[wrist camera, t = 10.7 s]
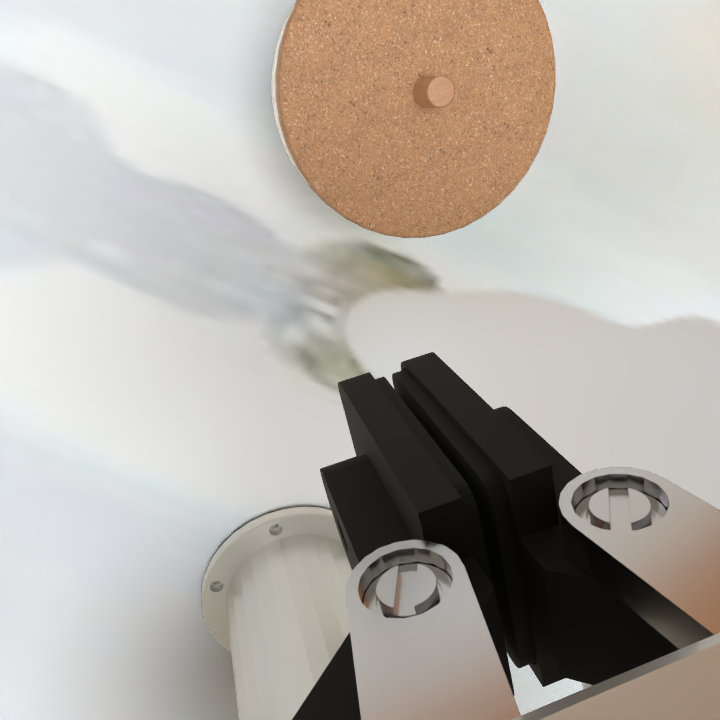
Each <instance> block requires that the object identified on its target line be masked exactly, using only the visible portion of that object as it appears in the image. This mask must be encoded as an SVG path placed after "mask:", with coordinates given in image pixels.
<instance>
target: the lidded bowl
mask: <svg viewBox="0 0 720 720" xmlns="http://www.w3.org/2000/svg"><path fill="white" fill-rule="evenodd" d="M271 81H272V104H273V110H274V116H275V121H276V124H277V128H278V131H279V134H280V137H281V140H282V143H283V145H284V147H285V149H286V151H287V153H288V155H289V157H290V159H291V161H292V163H293V164H294V166H295V167H296V169H297V170H298V172H299V173H300V174H301V176H302V177H303V179H304V180H305V181H306V182H307V183H308V185H309V186H310V187H311V188H312V189H313V191H314V192H315V193H316V194H317V195H318V196H319V197H320V198H321V199H322V200H323V201H324V202H325V203H326V204H327V205H329V206H330V207H331V208H333V209H334V210H335V211H336V212H338V213H339V214H340V215H342V216H343V217H344V218H346V219H348V220H350V221H352V222H354V223H356V224H358V225H359V226H361V227H363V228H365V229H368V230H371V231H375V232H378V233H381V234H384V235H389V236H396V237H403V238H421V237H430V236H435V235H441V234H445V233H448V232H451V231H454V230H457V229H460V228H462V227H465V226H467V225H468V224H470V223H472V222H474V221H476V220H478V219H480V218H481V217H483V216H484V215H486V214H487V213H488V212H490V211H491V210H492V209H494V208H495V207H496V206H498V205H499V204H500V203H501V202H502V201H503V200H504V199H505V198H506V197H507V196H508V195H509V194H510V193H511V192H512V191H513V190H514V189H515V187H516V186H517V185H518V183H519V182H520V181H521V179H522V178H523V177H524V175H525V174H526V173H527V171H528V170H529V168H530V166H531V164H532V162H533V161H534V159H535V157H536V155H537V154H538V152H539V149H540V147H541V144H542V142H543V139H544V137H545V134H546V132H547V128H548V124H549V120H550V116H551V113H552V108H553V100H554V92H555V57H554V50H553V43H552V37H551V34H550V30H549V27H548V23H547V20H546V16H545V14H544V11H543V9H542V7H541V5H540V3H539V0H297V1H296V3H295V4H294V6H293V7H292V9H291V11H290V13H289V15H288V17H287V19H286V21H285V23H284V26H283V28H282V30H281V33H280V36H279V40H278V43H277V47H276V50H275V54H274V62H273V69H272V77H271Z"/></svg>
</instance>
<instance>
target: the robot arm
mask: <svg viewBox="0 0 720 720" xmlns="http://www.w3.org/2000/svg"><path fill="white" fill-rule="evenodd" d="M392 379H393V385H394V388H393V387H392V386H391V385H390V383H389V382H388V381H387V379H386V378H385V377H381V378H378V379H374V377H373V376H372V375H371V374H370V373H366V374H363V375H360V376H357V377H354V378H351V379H347V380H344V381H341V382H339V383H338V387H339V392H340V396H341V400H342V404H343V407H344V411H345V415H346V418H347V422H348V426H349V430H350V433H351V437H352V441H353V445H354V448H355V452H356V457H353V458H351V459H348V460H345V461H342V462H339V463H336V464H333V465H330V466H327V467H324V468H321V469H320V472H321V476H322V480H323V483H324V487H325V490H326V494H327V497H328V500H329V504H330V507H331V510H329V509H324V508H320V507H295V508H287V509H282V510H279V511H275V512H272V513H268V514H265V515H263V516H261V517H259V518H257V519H255V520H253V521H251V522H249V523H247V524H246V525H244V526H243V527H242V528H240V529H239V530H237V531H236V532H234V533H233V534H232V535H231V536H230V537H229V538H228V539H227V540H226V541H225V542H224V543H223V544H222V545H221V546H220V548H219V549H218V550H217V552H216V553H215V555H214V556H213V557H212V559H211V561H210V563H209V566H208V568H207V570H206V572H205V575H204V580H203V585H202V608H203V615H204V619H205V622H206V624H207V627H208V629H209V631H210V633H211V634H212V635H213V637H214V638H215V639H216V641H217V642H218V643H219V644H220V645H221V646H223V647H224V648H225V649H226V650H227V651H228V652H230V653H231V655H232V664H233V673H234V683H235V692H236V701H237V710H238V719H239V720H720V510H719V509H717V508H715V507H714V506H712V505H710V504H709V503H707V502H705V501H703V500H702V499H700V498H698V497H696V496H695V495H693V494H691V493H689V492H688V491H686V490H684V489H682V488H681V487H679V486H677V485H675V484H674V483H672V482H670V481H668V480H667V479H665V478H663V477H661V476H658V475H656V474H654V473H651V472H649V471H645V470H640V469H635V468H630V467H609V468H602V469H595V470H592V471H589V472H587V473H584V474H581V473H580V472H579V471H578V470H577V469H576V468H575V467H574V466H573V465H571V464H570V463H569V462H568V461H567V460H566V459H565V458H564V457H563V456H562V455H560V454H559V453H558V452H557V451H556V450H555V449H554V448H553V447H551V445H549V444H548V443H547V442H546V441H545V440H544V439H543V438H542V437H541V436H540V435H538V434H537V433H536V432H535V431H534V430H533V429H532V428H531V427H530V426H528V425H527V424H526V423H525V422H524V421H523V420H522V419H521V418H520V417H519V416H517V415H516V414H515V413H514V412H513V411H512V410H511V409H509V408H508V407H500V408H497V409H494V410H493V409H492V408H491V407H490V406H489V405H488V404H487V403H486V402H485V401H484V400H483V399H482V398H481V397H480V396H479V395H478V394H477V393H475V391H474V390H473V389H471V388H470V387H469V386H468V385H467V384H466V383H465V382H464V381H463V380H462V379H461V378H460V377H459V376H458V375H457V374H456V373H455V372H454V371H453V370H452V369H450V367H448V366H447V365H446V364H445V363H444V362H443V361H442V360H441V359H440V358H439V357H438V356H437V355H436V354H435V353H433V352H431V353H428V354H425V355H422V356H419V357H416V358H413V359H410V360H406V361H404V362H402V363H401V371H400V372H397V373H394V374H393V375H392ZM394 389H395V390H394ZM274 524H275V525H274ZM506 651H507V652H506ZM507 653H508V655H509V656H510V658H511V659H512V661H513V662H514V664H515V665H516V666H517V667H518V668H521V667H524V666H526V665H530V667H531V669H532V670H533V672H534V673H535V675H536V676H537V678H538V680H539V681H540V683H541V684H542V686H543V687H545V686H547V685H549V684H552V683H554V682H557V681H559V680H562V679H564V678H569V679H572V680H576V681H579V682H582V686H583V689H584V690H581V691H579V692H577V693H574V694H572V695H569V696H567V697H565V698H562V699H560V700H558V701H555V702H553V703H551V704H548V705H546V706H543V707H541V708H539V709H536V710H534V711H532V712H529V713H527V714H525V715H522V716H521V715H520V712H519V709H518V707H517V704H516V702H515V699H514V689H513V684H512V678H511V673H510V668H509V662H508V657H507Z"/></svg>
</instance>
